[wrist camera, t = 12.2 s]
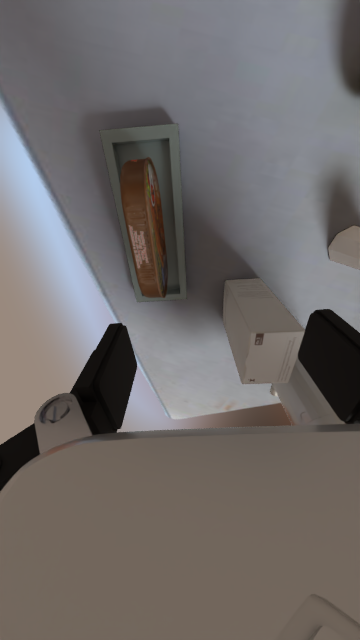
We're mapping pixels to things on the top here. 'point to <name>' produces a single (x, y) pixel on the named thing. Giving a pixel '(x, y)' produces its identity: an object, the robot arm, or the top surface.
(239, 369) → the skincare box
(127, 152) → the tray
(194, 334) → the top surface
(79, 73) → the top surface
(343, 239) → the pepper shaker
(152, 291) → the tin
